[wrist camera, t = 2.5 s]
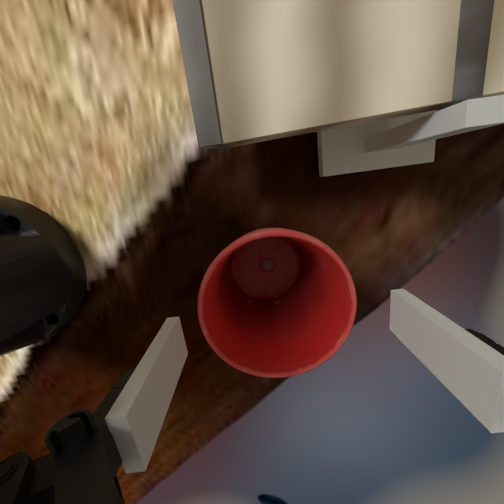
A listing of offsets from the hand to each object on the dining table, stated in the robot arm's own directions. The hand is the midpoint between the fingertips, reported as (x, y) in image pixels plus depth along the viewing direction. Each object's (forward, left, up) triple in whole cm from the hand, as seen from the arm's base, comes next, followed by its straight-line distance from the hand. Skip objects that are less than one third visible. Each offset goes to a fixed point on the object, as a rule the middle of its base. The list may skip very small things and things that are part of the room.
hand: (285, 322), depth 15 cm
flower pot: (0, 0, -11) cm, 11 cm away
